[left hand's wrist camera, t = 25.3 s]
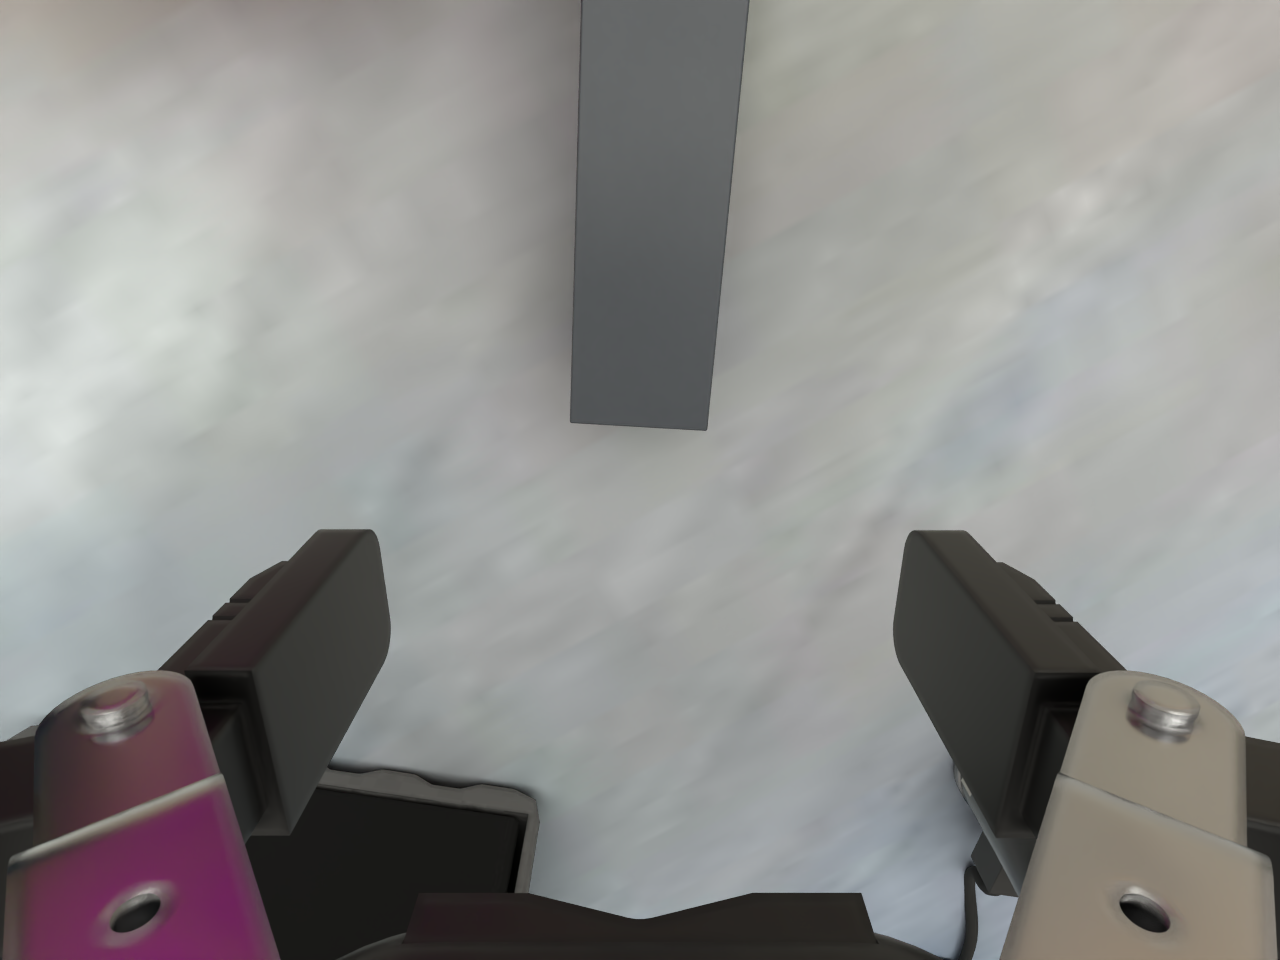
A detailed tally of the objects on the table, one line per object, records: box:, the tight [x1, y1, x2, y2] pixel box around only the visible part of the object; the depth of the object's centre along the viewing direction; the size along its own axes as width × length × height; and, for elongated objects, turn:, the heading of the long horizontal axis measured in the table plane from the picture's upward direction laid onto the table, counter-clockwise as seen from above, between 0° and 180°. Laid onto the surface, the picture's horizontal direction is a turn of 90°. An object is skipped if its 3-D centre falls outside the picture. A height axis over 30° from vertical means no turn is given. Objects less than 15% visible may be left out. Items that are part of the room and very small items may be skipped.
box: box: [570, 0, 749, 431], centre depth 31 cm, size 25×6×10 cm, turn 177°
